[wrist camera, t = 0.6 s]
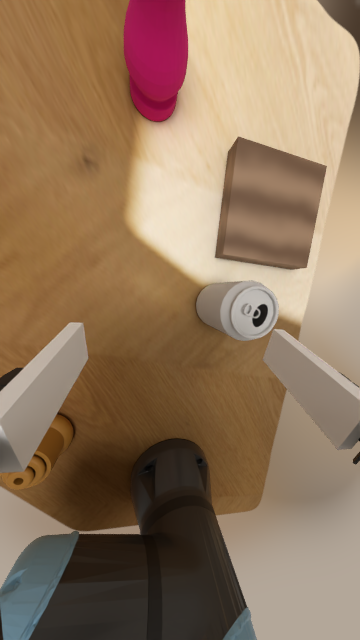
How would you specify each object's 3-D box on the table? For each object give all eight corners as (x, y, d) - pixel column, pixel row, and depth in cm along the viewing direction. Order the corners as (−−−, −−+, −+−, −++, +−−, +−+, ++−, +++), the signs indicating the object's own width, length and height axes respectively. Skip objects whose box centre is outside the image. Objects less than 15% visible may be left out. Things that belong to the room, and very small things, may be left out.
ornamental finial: (75, 409, 30) (75, 448, 31) (22, 411, 28) (24, 453, 29) (53, 451, 22) (53, 501, 23) (-22, 458, 20) (-18, 512, 21)
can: (223, 330, 33) (268, 352, 22) (188, 316, 31) (216, 332, 20) (239, 293, 33) (294, 295, 21) (204, 276, 31) (243, 268, 19)
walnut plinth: (292, 269, 34) (306, 267, 31) (215, 257, 30) (223, 254, 28) (309, 177, 32) (326, 166, 29) (228, 152, 28) (238, 136, 25)
